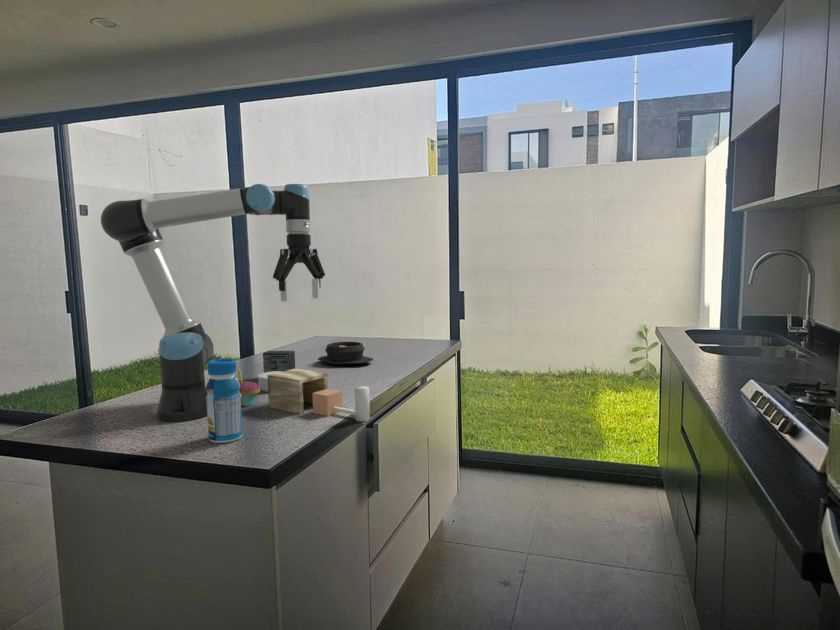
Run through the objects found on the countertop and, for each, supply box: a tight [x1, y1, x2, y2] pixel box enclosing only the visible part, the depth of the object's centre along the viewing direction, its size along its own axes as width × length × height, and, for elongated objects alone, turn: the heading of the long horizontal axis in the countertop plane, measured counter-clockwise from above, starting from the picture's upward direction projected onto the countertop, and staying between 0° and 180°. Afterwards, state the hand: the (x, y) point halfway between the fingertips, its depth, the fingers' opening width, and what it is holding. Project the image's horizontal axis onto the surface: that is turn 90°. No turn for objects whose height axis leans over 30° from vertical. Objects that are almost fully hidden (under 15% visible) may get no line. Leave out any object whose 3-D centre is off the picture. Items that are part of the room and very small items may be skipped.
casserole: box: [317, 341, 374, 366], centre depth 234 cm, size 25×19×8 cm
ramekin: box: [257, 371, 283, 393], centre depth 190 cm, size 11×11×5 cm
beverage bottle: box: [205, 358, 244, 444], centre depth 138 cm, size 8×8×20 cm
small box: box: [262, 350, 296, 373], centre depth 206 cm, size 11×6×10 cm, turn 84°
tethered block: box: [312, 385, 371, 422], centre depth 157 cm, size 6×18×9 cm, turn 55°
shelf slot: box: [267, 367, 329, 415], centre depth 167 cm, size 11×14×10 cm
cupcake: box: [237, 367, 261, 407], centre depth 171 cm, size 9×8×12 cm
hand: (301, 299), depth 177 cm, fingers open, 13 cm apart
